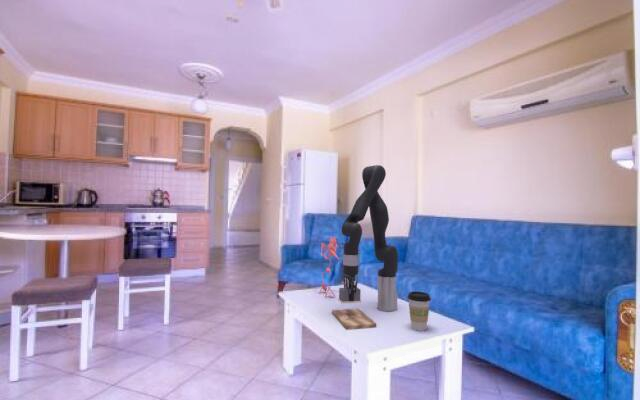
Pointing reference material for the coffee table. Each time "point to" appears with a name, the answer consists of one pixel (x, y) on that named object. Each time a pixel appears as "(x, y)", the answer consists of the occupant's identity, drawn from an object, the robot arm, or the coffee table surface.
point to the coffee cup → (419, 310)
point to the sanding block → (345, 295)
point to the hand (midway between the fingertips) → (349, 299)
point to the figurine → (332, 250)
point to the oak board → (353, 319)
